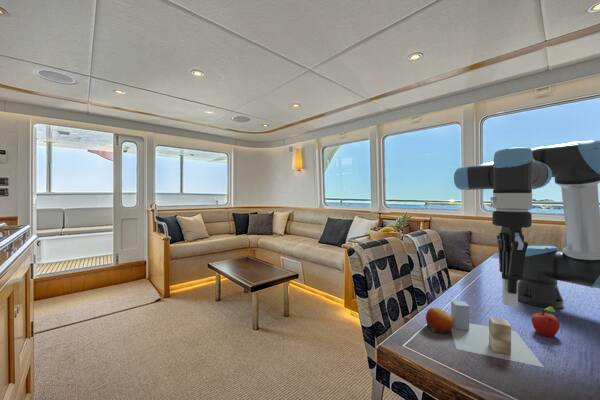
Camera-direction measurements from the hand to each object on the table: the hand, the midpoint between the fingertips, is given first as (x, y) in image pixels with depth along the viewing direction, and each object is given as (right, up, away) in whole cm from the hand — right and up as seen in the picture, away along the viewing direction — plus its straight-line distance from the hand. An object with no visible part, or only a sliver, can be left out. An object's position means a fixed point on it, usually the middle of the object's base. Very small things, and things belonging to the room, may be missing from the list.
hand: (509, 304), depth 64 cm
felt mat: (+4, -16, +13) cm, 21 cm away
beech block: (+3, -16, +8) cm, 18 cm away
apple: (+24, -17, +16) cm, 34 cm away
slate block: (0, -16, +20) cm, 25 cm away
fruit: (-7, -16, +19) cm, 26 cm away
